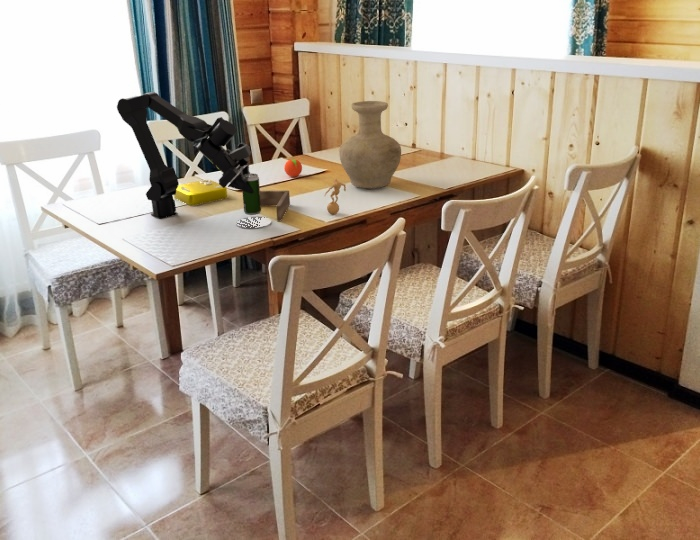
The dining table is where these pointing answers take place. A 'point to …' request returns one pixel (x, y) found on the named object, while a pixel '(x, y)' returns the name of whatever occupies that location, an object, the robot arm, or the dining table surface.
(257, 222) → the coaster
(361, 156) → the vase
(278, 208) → the corner niche
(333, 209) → the figurine
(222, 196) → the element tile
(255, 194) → the beer can
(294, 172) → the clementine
